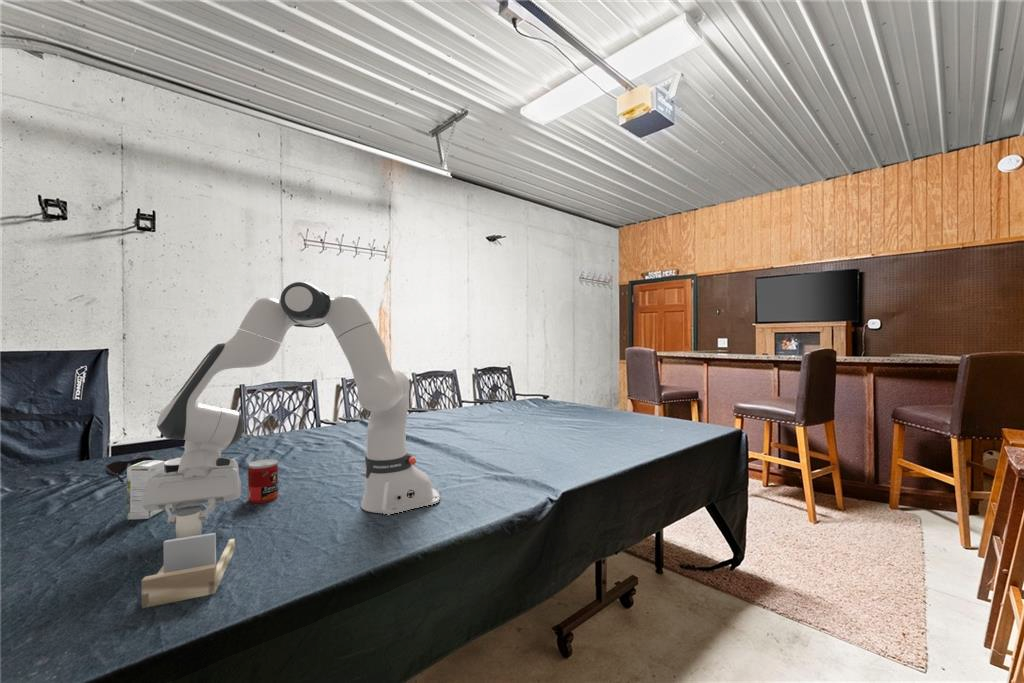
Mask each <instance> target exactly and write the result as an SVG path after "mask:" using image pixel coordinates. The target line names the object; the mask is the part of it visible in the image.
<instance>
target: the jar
mask: <svg viewBox="0 0 1024 683" xmlns="http://www.w3.org/2000/svg"><path fill="white" fill-rule="evenodd" d="M201 511H202V507H201V506H200V505H192V506H185V507H180V508H179V509H178V510H176V512H175V514H176V524H175V539H177V538H184V537H190V536H197V535H203V534H202V530H203V529H202V520H201V519H200V515H201V514H200V513H201Z"/></svg>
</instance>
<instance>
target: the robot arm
mask: <svg viewBox="0 0 1024 683" xmlns="http://www.w3.org/2000/svg"><path fill="white" fill-rule="evenodd" d="M325 324H327V325H328V327H329V328H330V329H331V330H332V332H333V335H334V337H335V338H336V341H337V342H338V344H339V345H340V348H341V350H342V353H343V354H344V356H345V358H346V359H347V362H348V364H349V366H350V370H351V373H352V376H353V379H354V382H355V385H356V389H357V400H358V403H359V404H360V406H362V408H363V409H364V410H366V411H369V412H370V415H369V419H368V424H367V427H366V456H365V457H364V476H365V484H364V485H365V486H364V491H363V496H362V501H361V504H360V507H361V508H360V509H362V510H363V511H365V512H368V513H375V514H377V513H378V514H382V513H383V514H382V515H385V514H387V515H386V516H391V515H390V514H394V513H398V514H400V513H399V512H402V513H404V512H403V511H406V510H410V509H414V508H419V507H423V506H427V507H429V506H428V505H431V506H434V505H433V504H435V505H437V504H436V503H438V502H440V501H439V500H441V496H440V494H439V491H437V489H436V488H434V487H433V485H432V482H431V478H429V476H428V474H426V473H425V472H424V471H422V470H421V469H419V468H417V467H415V466H414V465H416V464H417V459H416V457H415V456H413V455H412V454H410V453H408V452H406V450H407V448H406V444H407V443H406V441H407V440H406V436H407V434H406V433H407V432H406V431H407V430H406V428H407V427H406V426H407V425H406V424H407V419H408V410H409V400H410V387H411V384H410V379H409V378H408V377H407V375H406V374H405V373H403V372H401V371H399V370H397V369H392V366H391V364H390V360H389V358H388V355H387V354H388V353H387V352H386V350H387V348H386V346H385V343H384V342H383V339H382V337H381V336H380V334H379V332H378V330H377V328H376V326H375V325H374V322H373V321H372V319H371V317H370V315H369V314H368V312H367V311H366V309H365V308H364V307H363V305H362V304H361V303H360V302H359V300H358V299H357V298H356V297H355V296H353V295H349V294H344V295H343V294H342V295H339V296H336V297H334V298H333V297H332V298H331V296H330V295H329V294H328V293H326V292H325V291H323V290H321V289H320V288H319V287H317V286H316V285H313V283H310V282H305V281H298V282H292V283H290V284H288V285H287V286H286V287H285V288H284V289H283V290H282V292H281V294H280V299H277V298H272V297H262V298H259V299H257V300H256V301H255V302H254V303H253V304H252V306H251V308H249V310H248V311H247V313H246V314H245V316H244V318H243V320H242V322H240V325H239V327H238V329H237V331H236V332H235V334H234V335H233V336H232V337H231V338H230V339H228V340H227V341H225V342H224V343H218V344H216V345H215V346H213V347H212V348H210V350H209V351H208V352H207V354H206V355H205V357H204V358H203V359H202V360H201V361H200V363H199V364H198V365H197V367H196V368H195V369H194V371H193V372H192V373H191V375H190V376H189V378H187V379H186V382H185V383H183V386H182V387H181V388H180V390H178V391H177V394H176V395H175V396H174V397H173V398H172V400H171V401H170V402H169V403H168V404H167V405H166V406H165V407H164V409H163V410H162V411H161V412H160V414H159V417H158V418H157V423H156V427H157V429H158V431H159V432H160V434H161V435H162V436H163V437H164V438H165V439H169V440H180V441H183V440H185V442H184V452H183V454H182V456H181V457H180V458H181V460H180V464H179V469H178V471H177V472H169V473H166V472H164V473H159V474H156V475H155V476H153V477H151V478H149V480H148V482H147V485H146V490H145V493H144V495H143V497H142V500H141V505H142V507H143V508H144V509H145V510H146V511H154V510H162V509H164V511H165V512H166V513H167V515H168V516H167V524H168V526H169V525H170V526H171V525H176V513H174V514H172V513H173V512H174V511H175V509H176V508H177V509H178V508H185V507H189V506H200V505H206V504H208V505H207V507H206V508H205V509H204V510H201V513H200V514H201V515H200V519H201V521H205V520H209V518H210V513H211V512H212V511H213V510H214V509H215V508H216V506H217V503H222V502H229V501H230V502H231V501H235V500H238V499H239V498H240V496H241V492H242V482H241V478H240V474H239V465H238V462H237V461H236V459H234V458H229V457H225V456H223V457H222V456H221V454H222V451H223V450H227V449H228V448H230V447H232V446H233V445H235V444H237V443H238V442H239V441H240V439H241V438H242V436H243V432H244V428H245V419H244V416H243V415H242V413H241V412H240V411H237V410H234V409H230V408H227V407H226V408H225V407H223V406H222V407H221V406H217V405H216V406H215V405H211V404H206V403H203V402H198V398H199V397H200V396H201V395H202V393H203V392H204V390H205V389H206V387H207V386H208V384H209V383H210V382H211V381H212V379H213V378H214V376H216V375H217V374H219V373H220V372H222V371H225V370H229V369H242V368H243V369H245V368H248V369H249V368H256V367H261V366H264V365H266V364H267V363H269V362H271V361H273V359H274V358H275V357H276V355H277V353H278V352H279V349H280V347H281V345H282V342H283V341H284V338H285V335H286V333H287V332H288V330H289V329H290V328H291V327H293V326H294V327H297V328H298V327H299V328H311V329H314V328H319V327H322V326H324V325H325ZM154 477H155V478H154ZM438 504H439V503H438ZM423 508H424V507H423ZM419 509H420V508H419ZM410 511H411V510H410ZM406 512H407V511H406ZM394 515H395V514H394Z"/></svg>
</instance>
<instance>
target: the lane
mask: <svg viewBox="0 0 1024 683" xmlns="http://www.w3.org/2000/svg"><path fill="white" fill-rule="evenodd" d="M235 543H236V539H235V538H230V539H228V541H227V544H226V546H225V548H224V550H223V552H222V554H221V555H220V558H219V560H218V561H217V563H216V564H213V565H207V566H202V567H196V568H190V569H185V570H179V571H174V572H168V573H164V564H163V565H162V567H161V568H160V569H159V570H158V572H157V573H156V574H153V575H151V574H150V575H147V576H144V577H143V578H142V579H141V609H145V608H146V609H147V608H151V607H155V606H160V605H165V604H170V603H175V602H180V601H186V600H190V599H194V598H195V599H196V598H201V597H205V596H209V595H215V594H216V591H217V590H218V587H219V585H220V583H221V581H222V578H223V576H224V574H225V571H226V569H227V567H228V566H229V563H230V562H231V559H232V556H233V554H234V552H235V550H236V544H235Z"/></svg>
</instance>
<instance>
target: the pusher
mask: <svg viewBox="0 0 1024 683" xmlns="http://www.w3.org/2000/svg"><path fill="white" fill-rule="evenodd" d="M162 545H163V548H162V549H163V565H164V573H168V572H174V571H179V570H185V569H190V568H196V567H202V566H207V565H213V564H216V565H217V533H216V532H212V533H204V534H202V535H197V536H190V537H184V538H177V539H176V538H173V539H172V538H171V539H167V540H166V539H165V540H164V541H163V544H162Z"/></svg>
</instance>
